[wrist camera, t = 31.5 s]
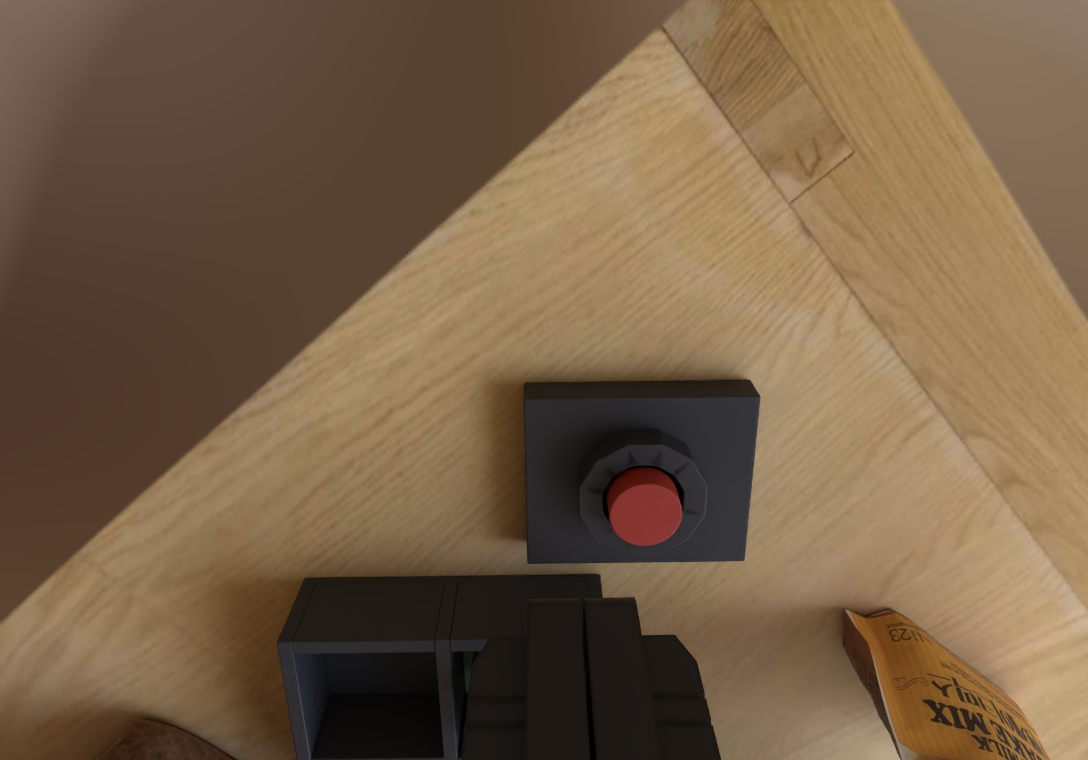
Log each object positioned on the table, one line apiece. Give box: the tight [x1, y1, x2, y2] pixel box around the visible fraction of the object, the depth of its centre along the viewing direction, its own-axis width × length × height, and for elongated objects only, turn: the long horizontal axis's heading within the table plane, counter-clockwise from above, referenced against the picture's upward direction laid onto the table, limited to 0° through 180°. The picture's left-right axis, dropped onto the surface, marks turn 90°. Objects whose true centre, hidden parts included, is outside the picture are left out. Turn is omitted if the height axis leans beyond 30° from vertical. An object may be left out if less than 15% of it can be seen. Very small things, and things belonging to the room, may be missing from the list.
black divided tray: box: [277, 575, 603, 760], centre depth 49 cm, size 17×17×6 cm
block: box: [524, 380, 760, 564], centre depth 44 cm, size 12×10×4 cm
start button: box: [607, 467, 682, 546], centre depth 41 cm, size 4×4×2 cm
